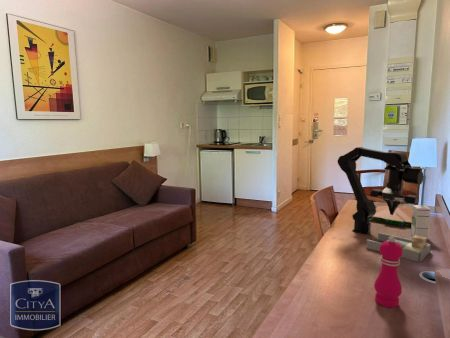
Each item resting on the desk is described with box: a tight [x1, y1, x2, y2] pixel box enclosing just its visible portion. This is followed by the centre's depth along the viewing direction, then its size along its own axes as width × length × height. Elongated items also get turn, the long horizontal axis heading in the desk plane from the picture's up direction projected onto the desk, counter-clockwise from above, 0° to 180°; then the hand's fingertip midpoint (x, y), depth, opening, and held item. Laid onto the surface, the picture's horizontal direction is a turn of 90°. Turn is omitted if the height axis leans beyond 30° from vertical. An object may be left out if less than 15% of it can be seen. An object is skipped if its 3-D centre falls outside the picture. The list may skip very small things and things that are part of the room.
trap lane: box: [365, 232, 431, 263], centre depth 136 cm, size 20×14×4 cm
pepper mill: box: [373, 236, 403, 308], centre depth 94 cm, size 7×7×20 cm
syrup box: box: [410, 204, 431, 240], centre depth 151 cm, size 6×6×14 cm
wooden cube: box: [411, 235, 427, 249], centre depth 132 cm, size 4×4×4 cm
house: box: [369, 205, 413, 227], centre depth 181 cm, size 23×33×8 cm
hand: (391, 214), depth 146 cm, fingers closed
